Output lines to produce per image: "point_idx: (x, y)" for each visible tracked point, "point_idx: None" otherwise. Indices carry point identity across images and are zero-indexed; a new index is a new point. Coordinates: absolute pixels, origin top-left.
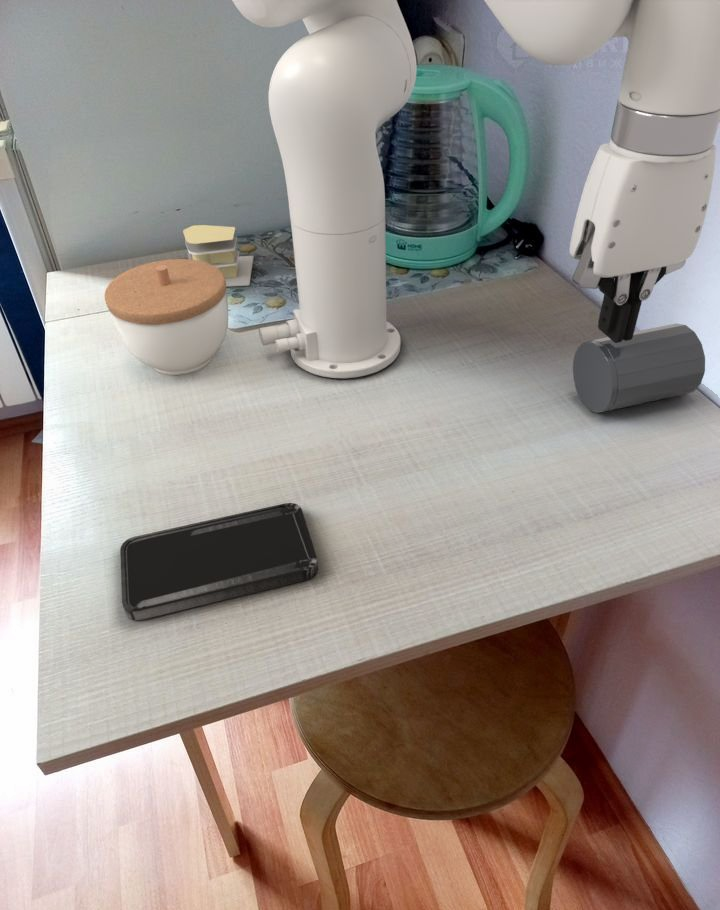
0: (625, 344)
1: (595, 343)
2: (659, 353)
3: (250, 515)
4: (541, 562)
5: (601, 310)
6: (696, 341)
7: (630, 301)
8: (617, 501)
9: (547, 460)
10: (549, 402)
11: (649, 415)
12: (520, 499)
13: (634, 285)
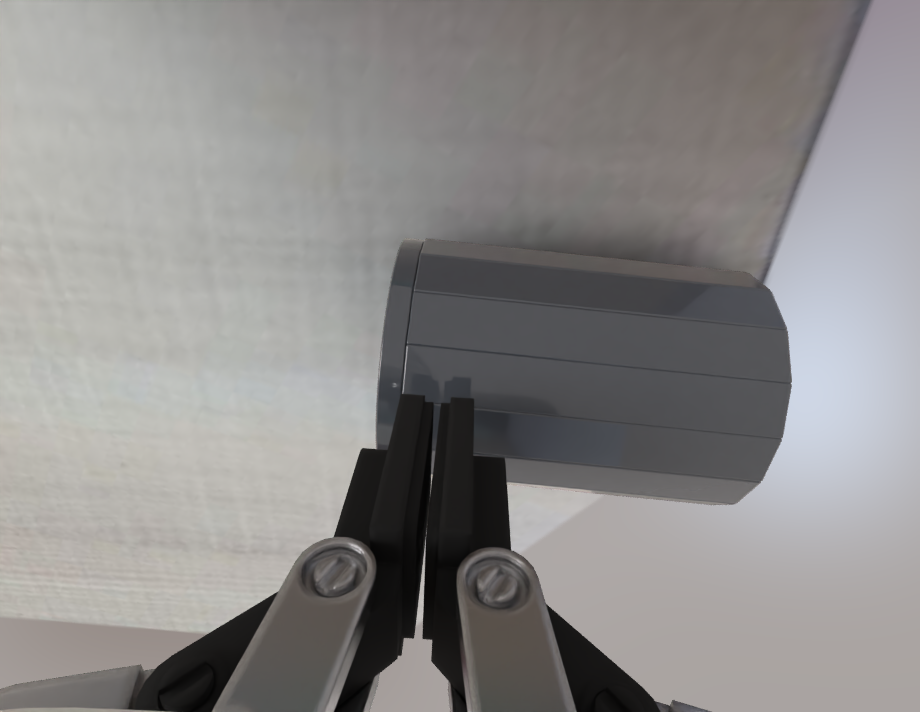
0: (476, 447)
1: (383, 395)
2: (570, 487)
3: None
4: (128, 584)
5: (347, 497)
6: (726, 499)
7: (426, 627)
8: (307, 545)
9: (224, 425)
10: (324, 252)
11: None
12: (132, 484)
13: (461, 669)
